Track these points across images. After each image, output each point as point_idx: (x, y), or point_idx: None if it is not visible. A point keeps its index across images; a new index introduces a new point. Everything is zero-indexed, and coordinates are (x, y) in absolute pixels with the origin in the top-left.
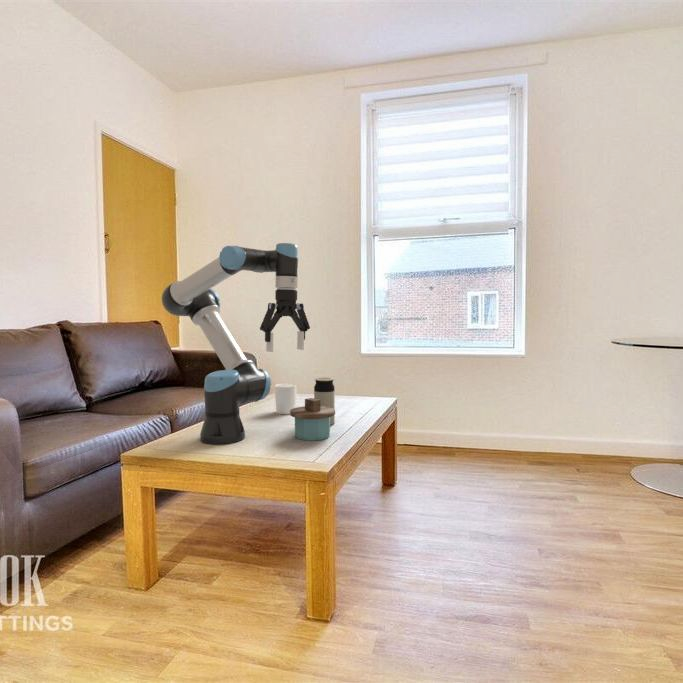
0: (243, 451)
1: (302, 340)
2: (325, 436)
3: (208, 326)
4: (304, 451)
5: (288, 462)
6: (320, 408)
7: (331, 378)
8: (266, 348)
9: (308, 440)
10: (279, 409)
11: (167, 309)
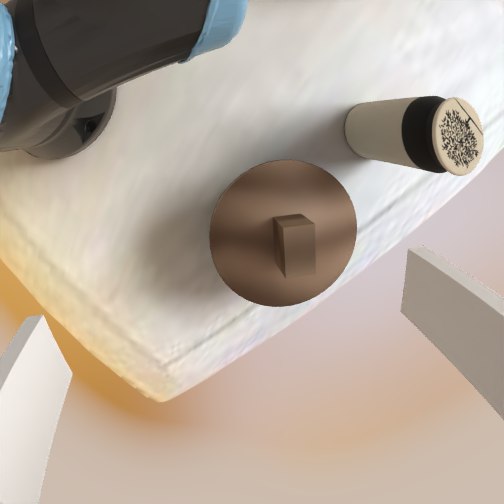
0: (64, 237)
1: (451, 359)
2: None
3: None
4: (179, 312)
5: (122, 348)
6: (325, 227)
7: (473, 160)
8: (16, 333)
9: None
10: None
11: None
